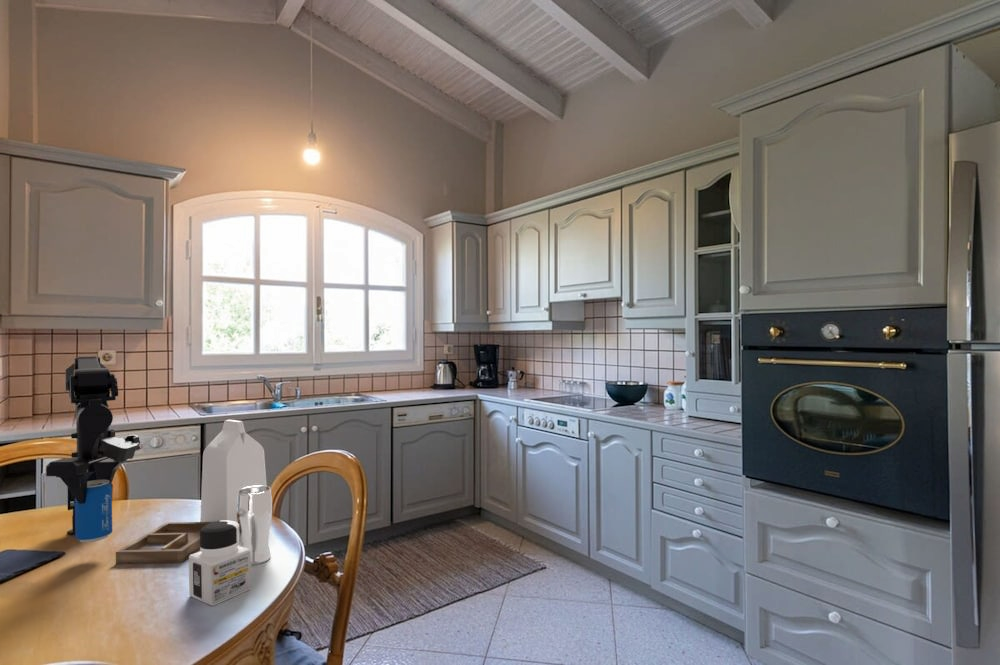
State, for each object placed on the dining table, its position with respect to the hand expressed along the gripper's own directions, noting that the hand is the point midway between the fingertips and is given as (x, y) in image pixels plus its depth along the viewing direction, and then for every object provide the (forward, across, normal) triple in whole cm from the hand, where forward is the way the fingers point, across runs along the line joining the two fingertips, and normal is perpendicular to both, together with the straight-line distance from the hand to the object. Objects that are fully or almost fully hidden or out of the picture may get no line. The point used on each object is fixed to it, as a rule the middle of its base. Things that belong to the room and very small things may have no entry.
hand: (93, 498), depth 119 cm
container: (+13, -17, -36) cm, 42 cm away
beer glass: (+13, -2, -36) cm, 38 cm away
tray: (+13, +6, -14) cm, 20 cm away
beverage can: (+9, 0, 0) cm, 9 cm away
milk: (+13, +23, -20) cm, 33 cm away
